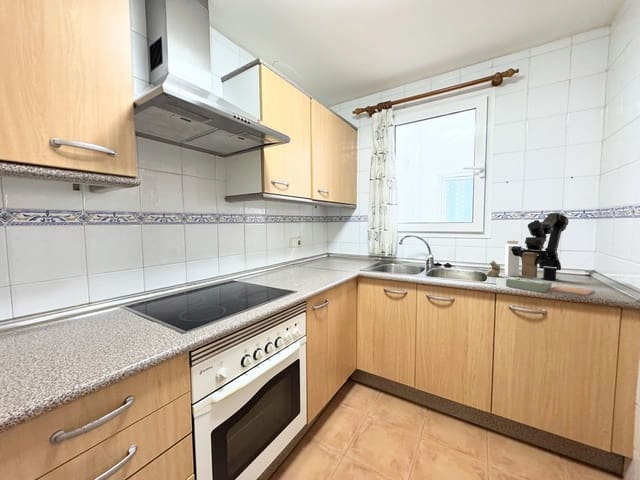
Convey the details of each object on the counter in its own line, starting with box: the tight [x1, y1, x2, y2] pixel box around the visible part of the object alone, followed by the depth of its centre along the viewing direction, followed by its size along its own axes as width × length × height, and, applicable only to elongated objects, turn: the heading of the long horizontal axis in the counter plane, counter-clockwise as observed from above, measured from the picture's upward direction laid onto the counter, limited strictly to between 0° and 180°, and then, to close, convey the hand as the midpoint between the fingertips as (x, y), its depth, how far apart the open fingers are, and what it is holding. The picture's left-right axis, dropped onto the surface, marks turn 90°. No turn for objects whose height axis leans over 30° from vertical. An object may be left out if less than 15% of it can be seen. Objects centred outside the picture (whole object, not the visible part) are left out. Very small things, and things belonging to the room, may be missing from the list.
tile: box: [548, 284, 595, 297], centre depth 128 cm, size 13×13×1 cm
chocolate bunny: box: [485, 260, 501, 278], centre depth 166 cm, size 6×8×10 cm
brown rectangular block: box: [521, 252, 538, 279], centre depth 136 cm, size 5×5×12 cm
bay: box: [505, 277, 553, 293], centre depth 137 cm, size 14×15×4 cm
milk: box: [504, 240, 521, 278], centre depth 166 cm, size 6×6×22 cm
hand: (528, 264), depth 136 cm, fingers closed on brown rectangular block, 5 cm apart
